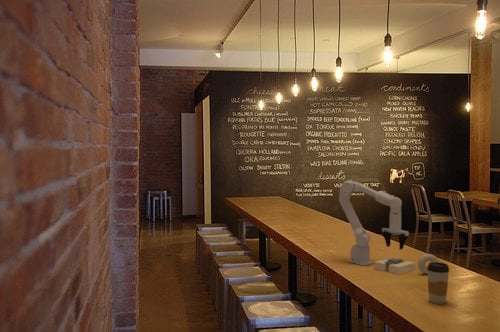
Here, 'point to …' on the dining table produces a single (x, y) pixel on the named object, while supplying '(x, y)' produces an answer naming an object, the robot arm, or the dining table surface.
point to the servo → (393, 261)
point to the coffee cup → (437, 282)
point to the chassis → (395, 266)
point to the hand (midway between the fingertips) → (394, 247)
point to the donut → (423, 260)
